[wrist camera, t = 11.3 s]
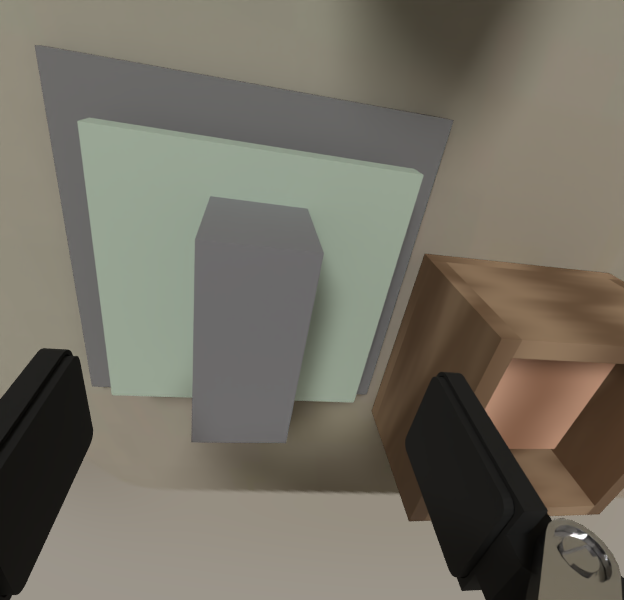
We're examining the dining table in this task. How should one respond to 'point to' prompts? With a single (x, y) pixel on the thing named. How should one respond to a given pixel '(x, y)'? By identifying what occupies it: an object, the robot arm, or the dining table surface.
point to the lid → (239, 271)
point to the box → (517, 372)
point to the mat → (227, 125)
